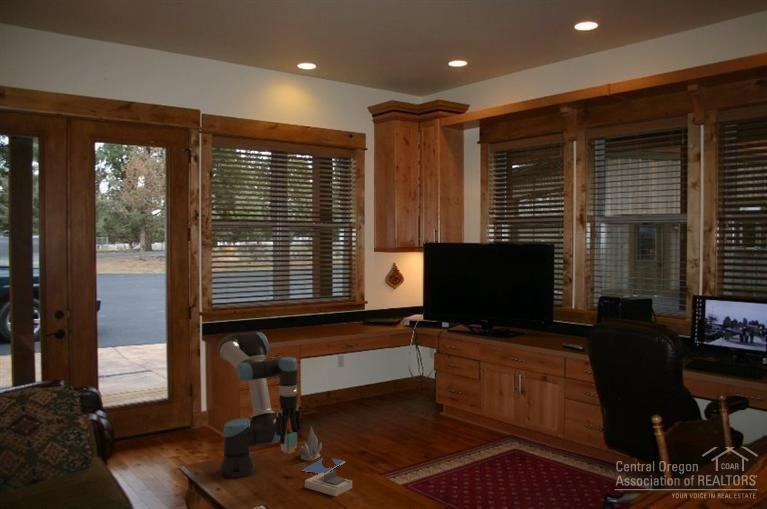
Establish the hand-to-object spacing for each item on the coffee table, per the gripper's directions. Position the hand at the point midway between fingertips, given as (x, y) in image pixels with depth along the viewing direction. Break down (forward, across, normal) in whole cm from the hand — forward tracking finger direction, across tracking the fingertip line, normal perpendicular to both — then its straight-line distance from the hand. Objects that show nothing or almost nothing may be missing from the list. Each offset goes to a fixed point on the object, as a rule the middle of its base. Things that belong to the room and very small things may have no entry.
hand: (288, 449), depth 272 cm
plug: (+1, 0, 0) cm, 1 cm away
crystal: (+17, +34, +20) cm, 43 cm away
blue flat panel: (+18, +28, +6) cm, 34 cm away
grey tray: (+17, +11, -13) cm, 24 cm away
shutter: (+14, +11, -16) cm, 24 cm away
